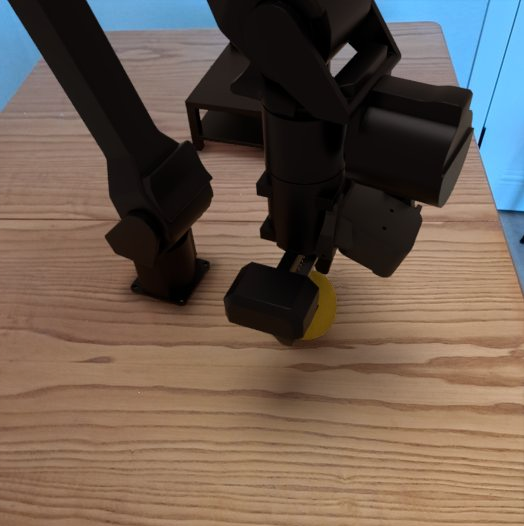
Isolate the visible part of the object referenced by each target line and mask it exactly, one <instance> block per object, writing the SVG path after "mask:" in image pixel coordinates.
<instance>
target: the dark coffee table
mask: <svg viewBox="0 0 524 526" xmlns="http://www.w3.org/2000/svg"><path fill="white" fill-rule="evenodd" d="M249 62H250V61H249V60H248V59H247V58H246V57H245V56H244V55H243V54H242V53H241V52H240V51H239V50H238V49H237V48H236V47H235V46H234V45H233V44H232V43H231V42H230V41H229V42H228V43H227V45H226V46H225V48H224V49H223V50H222V51H221V53H220V54H219V55H218V57H217V58H216V60H215V61H214V62H213V63H212V64H211V66H210V67H209V68H208V70H207V72H205V74H204V75H203V76H202V78H201V79H200V80H199V82H198V83H197V85H195V87H194V88H193V90H192V91H191V92H190V94H189V95H188V96H187V98H186V99H185V100H184V103H185V104H184V105H185V110H186V116H187V120H188V121H187V122H188V127H189V131H190V138H191V143H192V144H193V145H194V146H195V147H196V150H197V152H203V150H204V149H205V147H206V143H205V141H206V142H211V143H218V144H225V145H232V146H238V147H245V148H251V149H253V148H254V149H257V150H258V149H259V150H264V139H263V124H262V108H261V102H260V101H258V100H255V99H251V98H247V97H243V96H239V95H235V94H233V93H232V92H231V91H230V84H231V83H232V82H233V81H234V80H235V79H236V78H237V77H238V76H239V75H240V74H242V73H243V72H244V70H245V69H246V68H247V66H248V64H249ZM331 63H332V60H331V61H330V62H329V63H328V64H327V65H326V66H327V67H328V69H329V71H330V72H331ZM200 110H203V111H206V112H205V114H204V115H203V116H202V118H201V111H200Z"/></svg>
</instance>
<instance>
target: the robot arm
mask: <svg viewBox="0 0 524 526" xmlns="http://www.w3.org/2000/svg"><path fill="white" fill-rule="evenodd" d="M6 1H7V2H8V4H9V5H10V7H11V9H12V10H13V12H14V14H15V15H16V16H17V17H16V18H18V20H19V21H20V23H21V24H22V26H23V28H24V29H25V31H26V33H27V35H29V37H30V39H31V41H32V43H33V44H34V45H35V47H36V49H37V51H38V52H39V53H40V55H41V56H42V58H43V60H44V61H45V63H46V65H47V66H48V68H49V69H50V71H51V73H52V74H53V75H54V78H55V79H56V81H57V82H58V84H59V85H60V87H61V89H62V90H63V92H64V93H65V95H66V96H67V98H68V100H69V101H70V102H71V104H72V106H73V108H74V109H75V111H76V112H77V114H78V115H79V117H80V119H81V121H82V122H83V123H84V126H86V128H87V130H88V131H89V133H90V135H91V136H92V138H93V140H94V141H95V143H96V144H97V146H98V148H99V149H100V150H101V151H100V152H102V154H103V157H104V158H105V160H106V172H107V174H106V175H107V186H108V187H107V188H108V196H109V197H108V198H109V200H110V201H111V204H112V205H113V207H114V209H115V211H116V213H117V215H118V217H119V219H120V220H119V221H118V222H117V223H116V224H114V226H113V227H112V228H111V229H110V230H108V231H107V233H105V235H104V239H105V240H106V242H107V243H108V245H109V247H110V248H111V250H112V251H113V253H114V254H115V255H118V256H120V257H122V258H124V259H127V260H129V261H132V262H133V266H134V268H135V271H136V275H137V277H136V278H135V279H134V281H133V282H132V283H131V284H130V286H129V287H130V291H131V292H132V293H134V294H138V295H141V296H144V297H148V298H151V299H154V300H158V301H160V302H163V303H164V302H165V303H168V304H171V305H175V306H178V307H184V306H186V305H187V304H188V302H189V300H190V299H191V297H192V296H193V295H194V293H195V291H196V290H197V289H198V287H199V285H200V284H201V282H202V281H203V279H204V278H205V276H206V275H207V273H208V271H209V270H210V268H211V262H210V261H209V260H207V259H203V258H199V257H197V256H198V252H197V246H196V242H195V238H194V232H193V229H192V226H193V225H194V224H195V223H196V222H197V221H198V220H199V219H200V218H202V216H203V214H204V213H206V211H207V210H208V209H209V208H210V207H211V205H212V199H213V198H214V196H215V195H214V189H213V188H212V184H211V181H212V180H213V179H214V177H213V176H212V174H211V173H210V172H209V171H208V170H207V168H206V167H205V166H204V164H203V162H202V160H201V158H200V155H199V153H198V152H199V151H197V150H196V147H195V146H194V145H193V144H192V141H191V140H188V139H185V140H184V141H181V142H178V141H177V140H175V139H174V138H172V137H171V136H169V135H167V134H166V133H164V132H162V131H161V130H159V128H158V127H157V125H156V124H155V122H154V120H153V118H152V116H151V114H150V113H149V111H148V109H147V107H146V106H145V104H144V102H143V100H142V99H141V96H140V94H139V93H138V91H137V89H136V88H135V85H134V84H133V82H132V80H131V78H130V76H129V75H128V73H127V71H126V68H125V67H124V65H123V63H122V62H121V59H120V58H119V56H118V55H117V52H116V51H115V49H114V47H113V46H112V44H111V42H110V40H109V38H108V36H107V35H106V33H105V31H104V29H103V27H102V25H101V23H100V21H99V19H98V18H97V16H96V14H95V13H94V11H93V9H92V7H91V6H90V3H89V2H88V0H6ZM206 3H207V5H208V7H209V9H210V12H211V14H212V16H213V19H214V21H215V23H216V25H217V28H218V30H219V31H220V33H222V35H223V36H224V37H225V38H226V39H227V40H228V41H229V42H231V43H232V44H233V45H234V46H235V47H236V48H237V49H238V50H239V51H240V52H241V53H242V54H243V55H244V56H245V57H246V58H247V59H248V60H249V61H250V62H249V64H248V66H247V68H246V69H245V70H244V72H243V73H242V74H240V75H239V76H238V77H237V78H236V79H235V80H234V81H233V82H232V83H231V84H230V91H231V92H232V93H233V94H235V95H239V96H243V97H247V98H251V99H255V100H258V101H260V102H261V108H262V124H263V139H264V149H263V152H264V153H263V155H264V171H263V173H262V174H261V175H260V177H259V178H258V180H257V181H256V183H255V192H256V196H258V197H261V198H267V199H266V200H267V213H268V214H267V216H266V217H265V219H264V221H263V222H262V224H261V225H260V227H259V238H260V240H264V241H268V242H273V243H275V245H276V247H277V248H278V249H280V250H282V251H284V253H283V255H282V256H281V258H280V260H279V261H278V264H277V265H276V267H274V266H271V265H267V264H263V263H259V262H255V261H250V262H249V263H247V264H245V265H243V266H242V267H241V268H240V270H239V271H238V273H237V275H236V277H235V278H234V279H233V281H232V283H231V285H230V286H229V288H228V290H227V291H226V293H225V294H224V296H223V297H222V302H223V308H224V313H225V316H226V319H227V321H228V323H231V324H232V325H233V324H234V325H236V326H240V327H243V328H247V329H250V330H254V331H258V332H261V333H264V334H267V335H270V336H272V337H273V338H274V339H276V341H277V342H278V343H280V345H282V346H286V347H289V348H292V347H294V345H295V342H296V341H298V340H302V339H301V338H303V337H304V335H305V333H306V331H307V329H308V328H309V326H310V324H311V322H312V319H313V317H314V315H315V313H316V311H317V309H318V307H319V305H317V304H318V301H319V289H320V288H319V287H318V286H317V285H316V284H315V283H314V282H313V281H312V280H311V279H310V278H309V275H310V274H311V272H312V270H314V269H315V271H317V272H320V273H322V274H323V275H325V276H328V274H329V272H330V270H331V268H332V265H333V262H334V259H335V256H336V254H337V250H338V252H339V253H340V254H341V255H342V256H344V257H345V258H347V259H349V260H351V261H353V262H355V263H357V264H359V265H360V266H362V267H364V268H367V269H368V270H370V271H371V272H372V274H374V275H375V276H377V277H379V278H384V279H386V278H391V277H392V276H393V275H394V273H395V272H396V270H397V269H398V268H399V267H400V266H401V264H402V263H403V262H404V260H405V259H406V257H408V255H409V254H410V252H411V251H412V250H413V248H414V246H415V243H416V240H417V237H418V235H419V232H420V229H421V227H422V224H423V217H422V214H421V212H422V210H423V205H421V204H424V205H428V206H432V207H434V208H437V209H442V208H443V207H444V206H445V205H446V203H447V202H448V200H449V199H450V197H451V195H452V193H453V191H454V189H455V188H456V187H455V186H456V184H457V182H458V180H459V177H460V175H461V173H462V170H463V167H464V165H465V162H466V159H467V156H468V152H469V149H470V146H471V143H472V139H473V135H474V132H475V127H472V125H473V119H474V112H473V110H472V109H471V105H472V100H473V96H474V92H473V90H472V89H470V88H465V87H461V86H456V85H452V84H451V85H450V84H447V85H438V84H437V85H436V84H430V83H426V82H421V81H418V80H413V79H408V78H403V77H398V76H394V75H392V73H393V72H392V71H393V70H394V69H395V68H396V66H397V65H398V64H399V62H401V60H402V58H403V57H402V53H401V51H400V50H401V49H399V46H398V45H397V42H396V40H395V38H394V36H393V34H392V32H391V31H390V28H389V27H388V23H387V22H386V20H385V18H384V16H383V14H382V12H381V10H380V8H379V7H378V4H377V3H376V1H375V0H206ZM347 44H348V45H349V46H350V47H351V48H352V49H353V50H354V51H355V52H356V53H355V54H354V55H353V56H352V57H351V58H350V59H349V60H348V61H347V62H346V64H344V66H343V67H342V68H340V70H339V71H338V72H337V73H336V74H335V75H334V76H333V74H332V72H331V70H330V71H329V69H328V67H327V66H326V65H327V64H328V63H329V62H330V61H331V62H332V60H333V59H334V58H335V57H336V56H337V55H338V54H339V53H340V52H341V51H342V50H343V48H344V47H345V46H346V45H347ZM416 202H418V203H417V204H416ZM419 203H421V204H419Z"/></svg>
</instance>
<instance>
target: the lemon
mask: <svg viewBox="0 0 524 526" xmlns="http://www.w3.org/2000/svg"><path fill="white" fill-rule="evenodd" d="M309 278H310V279H311V280H312V281H313V282H314V283H315V284H316V285H317V286H318V287H319V288H320V289H319V301H318V304H317V305H319V307H318V309H317V311H316V313H315V315H314V317H313V319H312V322H311V324H310V326H309V328H308V329H307V331H306V333H305V335H304V337H303V338H301V339H300V340H302V341H309V340H311V341H312V340H315V339H318V338H320V337H322V336H323V335H325V334H326V333H328V331H329V330H330V329H331V328H332V326H333V324H334V322H335V320H336V316H337V311H338V299H337V294H336V290H335V288H334V286H333V283H332V282H331V280H330V279H329V278H328V277H327V275H324V274H322V273H320V272H317V271H316V269H315V270H314V269H313V270H312V272H311V274H310V275H309Z"/></svg>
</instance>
